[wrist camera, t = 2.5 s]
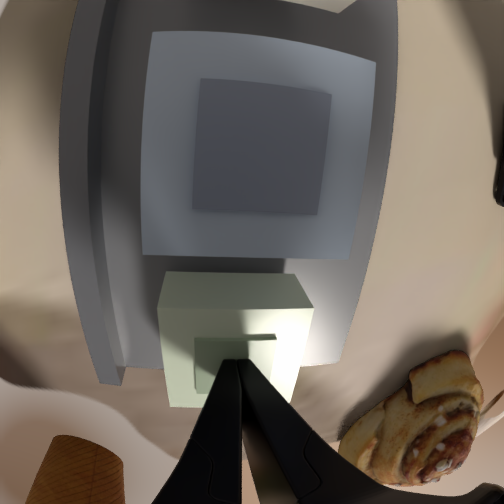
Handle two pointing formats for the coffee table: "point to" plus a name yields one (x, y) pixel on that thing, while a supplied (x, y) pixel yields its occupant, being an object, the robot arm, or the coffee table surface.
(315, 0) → the key ivory
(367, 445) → the pastry
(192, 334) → the key sage
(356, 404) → the coffee table surface
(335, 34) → the keypad
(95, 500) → the disposable coffee cup
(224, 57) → the key blue
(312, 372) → the coffee table surface
